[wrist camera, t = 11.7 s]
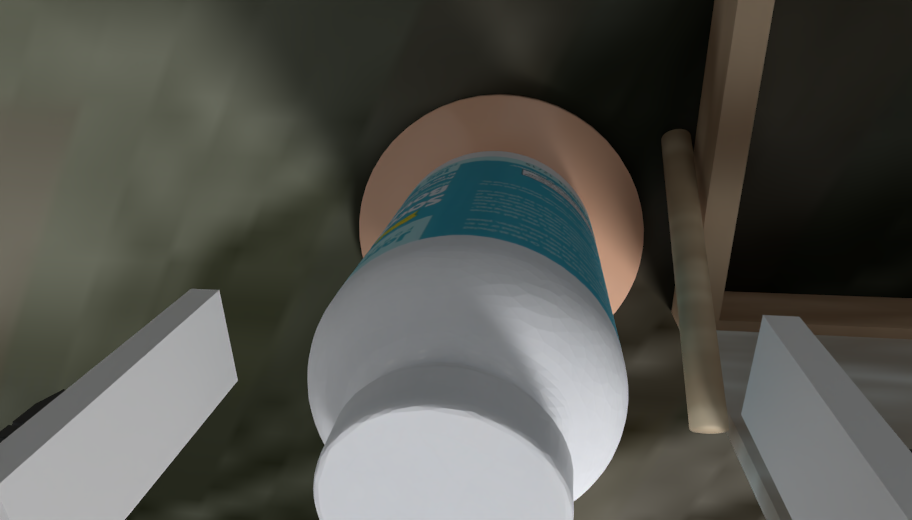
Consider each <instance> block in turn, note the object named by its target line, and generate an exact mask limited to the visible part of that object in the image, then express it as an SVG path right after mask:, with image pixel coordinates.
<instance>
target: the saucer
mask: <svg viewBox="0 0 912 520" xmlns="http://www.w3.org/2000/svg"><path fill="white" fill-rule="evenodd" d="M483 151H504V152H512V153H517V154H520V155H524V156H527V157H530V158H532V159H535V160H537V161H539V162H541V163H543V164H545V165H546V166H548V167H550V168H551V169H553V170H554V171H555V172H557V173H558V174H559V175H560V176H561V177H563V178H564V179H565V180H566V181H567V182H568V183H569V184H570V186H571V187H572V188H573V189H574V191H575V192H576V193H577V195H578V196H579V198H580V199H581V201H582V203H583V205H584V207H585V208H586V211H587V213H588V215H589V219H590V222H591V225H592V229H593V233H594V237H595V241H596V245H597V249H598V254H599V258H600V262H601V267H602V271H603V275H604V279H605V284H606V288H607V292H608V296H609V301H610V305H611V309H612V313H613V314H614V313H615V312H616V311H617V309H618V308H619V307H620V305H621V304H622V302H623V301H624V299H625V298H626V296H627V294H628V292H629V290H630V288H631V286H632V284H633V282H634V280H635V277H636V274H637V271H638V268H639V265H640V261H641V255H642V250H643V238H644V225H643V215H642V208H641V204H640V200H639V197H638V193H637V190H636V188H635V185H634V183H633V180H632V178H631V176H630V173H629V172H628V170H627V168H626V167H625V165H624V163H623V162H622V160H621V158H620V157H619V155H618V154H617V152H616V151H615V150H614V149H613V147H612V146H611V145H610V144H609V142H608V141H607V140H606V139H605V138H604V137H603V136H602V135H601V134H600V133H599V132H598V131H596V130H595V129H594V128H593V127H592V126H591V125H589V124H588V123H587V122H585V121H584V120H582V119H581V118H579V117H578V116H577V115H575V114H573V113H571V112H569V111H567V110H565V109H563V108H561V107H559V106H557V105H554V104H551V103H549V102H546V101H543V100H540V99H536V98H531V97H526V96H521V95H509V94H490V95H479V96H474V97H469V98H464V99H460V100H457V101H454V102H451V103H449V104H446V105H443V106H441V107H439V108H437V109H435V110H433V111H431V112H429V113H427V114H425V115H424V116H423V117H421V118H420V119H418V120H417V121H416V122H414V123H413V124H411V125H410V126H409V127H407V128H406V129H405V130H404V131H403V132H402V133H401V134H400V135H399V136H398V137H397V138H396V139H395V140H394V141H393V142H392V143H391V144H390V145H389V147H388V148H387V149H386V150H385V152H384V153H383V154H382V156H381V157H380V159H379V161H378V162H377V164H376V166H375V167H374V169H373V171H372V173H371V176H370V178H369V180H368V183H367V185H366V188H365V192H364V195H363V199H362V203H361V211H360V219H359V233H360V244H361V250H362V256H363V258H364V257H365V255H366V254H367V253H368V251H369V250H370V249H371V247H372V246H373V244H374V243H375V242H376V240H377V239H378V238H379V236H380V235H381V234H382V232H383V231H384V229H385V228H386V227H387V225H388V224H389V223H390V221H391V220H392V218H393V217H394V216H395V214H396V213H397V212H398V210H399V209H400V208H401V206H402V205H403V203H404V202H405V200H406V199H407V198H408V196H409V195H410V194H411V192H412V191H413V190H414V188H415V187H416V186H417V185H418V184H419V183H420V182H421V181H422V180H423V179H424V178H425V177H426V176H427V175H428V174H429V173H431V172H432V171H433V170H435V169H436V168H438V167H439V166H441V165H443V164H444V163H446V162H448V161H450V160H452V159H455V158H457V157H460V156H463V155H467V154H470V153H476V152H483Z"/></svg>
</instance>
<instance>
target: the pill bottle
mask: <svg viewBox="0 0 912 520" xmlns="http://www.w3.org/2000/svg"><path fill="white" fill-rule="evenodd" d="M307 382H308V396H309V403H310V407H311V411H312V415H313V418H314V421H315V424H316V427H317V429H318V432H319V435H320V437H321V439H322V441H323V443H324V447H323V450H322V452H321V454H320V457H319V459H318V462H317V466H316V470H315V474H314V486H313V492H314V501H315V506H316V510H317V513H318V516H319V519H320V520H573V517H574V501H575V500H576V499H578V498H579V497H580V496H581V495H582V494H583V493H584V492H586V491H587V490H588V489H589V488H590V487H591V486H592V485H593V484H594V482H595V481H596V480H597V479H598V478H599V477H600V475H601V474H602V473H603V472H604V470H605V469H606V467H607V466H608V464H609V462H610V461H611V459H612V457H613V455H614V453H615V451H616V448H617V446H618V444H619V441H620V439H621V436H622V432H623V428H624V425H625V421H626V415H627V407H628V382H627V374H626V368H625V363H624V359H623V354H622V350H621V346H620V342H619V338H618V333H617V329H616V325H615V321H614V317H613V313H612V309H611V305H610V301H609V296H608V292H607V288H606V284H605V279H604V275H603V271H602V267H601V262H600V258H599V254H598V249H597V245H596V241H595V237H594V233H593V229H592V225H591V222H590V219H589V215H588V213H587V211H586V208H585V207H584V205H583V203H582V201H581V199H580V198H579V196H578V195H577V193H576V192H575V191H574V189H573V188H572V187H571V186H570V184H569V183H568V182H567V181H566V180H565V179H564V178H563V177H561V176H560V175H559V174H558V173H557V172H555V171H554V170H553V169H551V168H550V167H548V166H546V165H545V164H543V163H541V162H539V161H537V160H535V159H532V158H530V157H527V156H524V155H520V154H517V153H512V152H504V151H483V152H476V153H470V154H467V155H463V156H460V157H457V158H455V159H452V160H450V161H448V162H446V163H444V164H443V165H441V166H439V167H438V168H436V169H435V170H433V171H432V172H431V173H429V174H428V175H427V176H426V177H425V178H424V179H423V180H422V181H421V182H420V183H419V184H418V185H417V186H416V187H415V188H414V190H413V191H412V192H411V194H410V195H409V196H408V198H407V199H406V200H405V202H404V203H403V205H402V206H401V208H400V209H399V210H398V212H397V213H396V214H395V216H394V217H393V218H392V220H391V221H390V223H389V224H388V225H387V227H386V228H385V229H384V231H383V232H382V234H381V235H380V236H379V238H378V239H377V240H376V242H375V243H374V244H373V246H372V247H371V249H370V250H369V251H368V253H367V254H366V255H365V257H364V258H363V259H362V261H361V262H360V263H359V265H358V266H357V267H356V269H355V270H354V271H353V273H352V274H351V275H350V277H349V278H348V279H347V280H346V282H345V283H344V284H343V286H342V287H341V289H340V290H339V291H338V293H337V294H336V296H335V297H334V299H333V300H332V302H331V303H330V304H329V306H328V307H327V309H326V311H325V312H324V314H323V316H322V318H321V320H320V322H319V325H318V327H317V329H316V332H315V335H314V338H313V342H312V345H311V350H310V355H309V362H308V380H307Z"/></svg>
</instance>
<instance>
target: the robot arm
mask: <svg viewBox="0 0 912 520" xmlns="http://www.w3.org/2000/svg"><path fill="white" fill-rule="evenodd" d="M237 381H238V379H237V374H236V369H235V365H234V360H233V355H232V350H231V345H230V340H229V335H228V330H227V326H226V321H225V316H224V311H223V306H222V301H221V296H220V291H219V290H207V289H190V290H189V291H188V292H187V293H185V294H184V295H183V296H182V297H180V298H179V299H178V300H177V301H175V302H174V303H173V304H172V305H170V306H169V307H168V308H167V309H165V310H164V311H163V312H162V313H161V314H159V315H158V316H157V317H156V318H154V319H153V320H152V321H151V322H149V323H148V324H147V325H146V326H144V327H143V328H142V329H141V330H139V331H138V332H137V333H136V334H135V335H133V336H132V337H131V338H130V339H128V340H127V341H126V342H125V343H123V344H122V345H121V346H120V347H118V348H117V349H116V350H115V351H113V352H112V353H111V354H110V355H108V356H107V357H106V358H105V359H104V360H102V361H101V362H100V363H99V364H97V365H96V366H95V367H94V368H92V369H91V370H90V371H89V372H87V373H86V374H85V375H84V376H82V377H81V378H80V379H79V380H78V381H76V382H75V383H74V384H73V385H71V386H70V387H69V388H68V389H66V390H64V389H63V390H61V391H60V392H58V393H56V394H54V395H52V396H50V397H48V398H46V399H44V400H42V401H40V402H38V403H36V404H35V405H33V406H32V407H31V408H30V409H28V410H27V411H26V412H25V413H23V414H22V415H21V416H19V417H18V418H17V419H16V420H14V421H13V424H12V425H8V426H7V427H5V428H4V429H3V430H2V431H0V520H125V519H126V517H127V516H128V515H129V514H130V513H131V511H132V510H133V509H134V508H135V506H136V505H137V504H138V503H139V501H140V500H141V499H142V498H143V497H144V495H145V494H146V493H147V492H148V490H149V489H150V488H151V487H152V485H153V484H154V483H155V482H156V480H157V479H158V478H159V477H160V476H161V474H162V473H163V472H164V471H165V469H166V468H167V467H168V466H169V464H170V463H171V462H172V461H173V460H174V458H175V457H176V456H177V455H178V453H179V452H180V451H181V450H182V448H183V447H184V446H185V445H186V444H187V442H188V441H189V440H190V439H191V437H192V436H193V435H194V434H195V432H196V431H197V430H198V429H199V428H200V426H201V425H202V424H203V423H204V421H205V420H206V419H207V418H208V416H209V415H210V414H211V413H212V412H213V410H214V409H215V408H216V407H217V405H218V404H219V403H220V402H221V400H222V399H223V398H224V397H225V396H226V394H227V393H228V392H229V391H230V389H231V388H232V387H233V386H234V384H235V383H236V382H237ZM741 415H742V417H743V419H744V422H745V424H746V426H747V428H748V430H749V432H750V434H751V436H752V438H753V440H754V442H755V444H756V446H757V448H758V450H759V452H760V454H761V457H762V459H763V461H764V463H765V465H766V467H767V469H768V471H769V473H770V475H771V477H772V479H773V481H774V483H775V485H776V487H777V489H778V491H779V494H780V496H781V498H782V500H783V502H784V504H785V506H786V508H787V510H788V512H789V514H790V516H791V518H792V520H912V449H908V448H907V446H906V445H905V444H904V443H903V442H902V440H901V439H900V438H899V437H898V436H897V434H896V433H895V432H894V431H893V430H892V428H891V427H890V426H889V425H888V423H887V422H886V421H885V420H884V419H883V417H882V416H881V415H880V414H879V413H878V411H877V410H876V409H875V408H874V407H873V405H872V404H871V403H870V402H869V400H868V399H867V398H866V397H865V396H864V394H863V393H862V392H861V391H860V390H859V388H858V387H857V386H856V385H855V383H854V382H853V381H852V380H851V379H850V377H849V376H848V375H847V374H846V373H845V371H844V370H843V369H842V368H841V367H840V365H839V364H838V363H837V362H836V360H835V359H834V358H833V357H832V356H831V354H830V353H829V352H828V351H827V350H826V348H825V347H824V346H823V345H822V344H821V342H820V341H819V340H818V339H817V337H816V336H815V335H814V334H813V333H812V331H811V330H810V329H809V328H808V327H807V325H806V324H805V323H804V322H803V321H802V319H801V318H800V317H795V316H773V315H763V317H762V321H761V326H760V330H759V335H758V340H757V344H756V349H755V353H754V358H753V362H752V367H751V372H750V376H749V381H748V385H747V390H746V394H745V399H744V403H743V408H742V413H741Z"/></svg>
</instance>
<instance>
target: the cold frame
mask: <svg viewBox="0 0 912 520" xmlns="http://www.w3.org/2000/svg"><path fill="white" fill-rule="evenodd" d="M774 3H775V0H714V7H713V14H712V22H711V29H710V36H709V43H708V51H707V58H706V65H705V72H704V80H703V87H702V94H701V101H700V109H699V116H698V123H697V130H696V138H695V145H694V152H693V148H692V140H691V134H690V133H689V132H688V131H687V130H684V129H674V130H670V131H668V132H666V133H665V134H664V135H663V136H662V138H661V146H662V156H663V166H664V176H665V186H666V196H667V206H668V216H669V226H670V237H671V247H672V257H673V267H674V277H675V290H674V297H673V304H672V311H671V312H672V314H673V316H674V319H675V321H676V323H677V325H678V327H679V330H680V338H681V348H682V358H683V368H684V378H685V388H686V398H687V408H688V418H689V428H690V430H691V431H693V432H697V433H707V434H713V433H723V432H726V433H727V435H728V437H729V439H730V441H731V444H732V446H733V448H734V450H735V452H736V455H737V457H738V459H739V461H740V463H741V466H742V468H743V470H744V472H745V474H746V477H747V479H748V481H749V483H750V485H751V488H752V490H753V492H754V494H755V496H756V499H757V501H758V503H759V505H760V507H761V510H762V512H763V514H764V516H765V518H766V520H792V518H791V516H790V514H789V512H788V510H787V508H786V506H785V504H784V502H783V500H782V498H781V496H780V494H779V491H778V489H777V487H776V485H775V483H774V481H773V479H772V477H771V475H770V473H769V471H768V469H767V467H766V465H765V463H764V461H763V459H762V457H761V454H760V452H759V450H758V448H757V446H756V444H755V442H754V440H753V438H752V436H751V434H750V432H749V430H748V428H747V426H746V424H745V422H744V419H743V417H742V415H741V413H742V408H743V403H744V399H745V394H746V390H747V385H748V381H749V376H750V372H751V367H752V362H753V358H754V353H755V349H756V344H757V340H758V335H759V330H760V326H761V321H762V317H763V315H773V316H795V317H800V318H801V319H802V321H803V322H804V323H805V324H806V325H807V327H808V328H809V329H810V330H811V331H812V333H813V334H814V335H815V336H816V337H817V339H818V340H819V341H820V342H821V344H822V345H823V346H824V347H825V348H826V350H827V351H828V352H829V353H830V354H831V356H832V357H833V358H834V359H835V360H836V362H837V363H838V364H839V365H840V367H841V368H842V369H843V370H844V371H845V373H846V374H847V375H848V376H849V377H850V379H851V380H852V381H853V382H854V383H855V385H856V386H857V387H858V388H859V390H860V391H861V392H862V393H863V394H864V396H865V397H866V398H867V399H868V400H869V402H870V403H871V404H872V405H873V407H874V408H875V409H876V410H877V411H878V413H879V414H880V415H881V416H882V417H883V419H884V420H885V421H886V422H887V423H888V425H889V426H890V427H891V428H892V430H893V431H894V432H895V433H896V434H897V436H898V437H899V438H900V439H901V440H902V442H903V443H904V444H905V445H906V446H907V448H908V449H912V298H888V297H862V296H836V295H810V294H784V293H758V292H731V291H724V290H725V284H726V278H727V272H728V267H729V261H730V255H731V249H732V244H733V238H734V232H735V226H736V221H737V215H738V209H739V204H740V198H741V192H742V186H743V181H744V175H745V169H746V163H747V158H748V152H749V146H750V140H751V135H752V129H753V123H754V117H755V112H756V106H757V100H758V94H759V89H760V83H761V77H762V71H763V66H764V60H765V54H766V49H767V43H768V37H769V31H770V26H771V20H772V14H773V8H774Z"/></svg>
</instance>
